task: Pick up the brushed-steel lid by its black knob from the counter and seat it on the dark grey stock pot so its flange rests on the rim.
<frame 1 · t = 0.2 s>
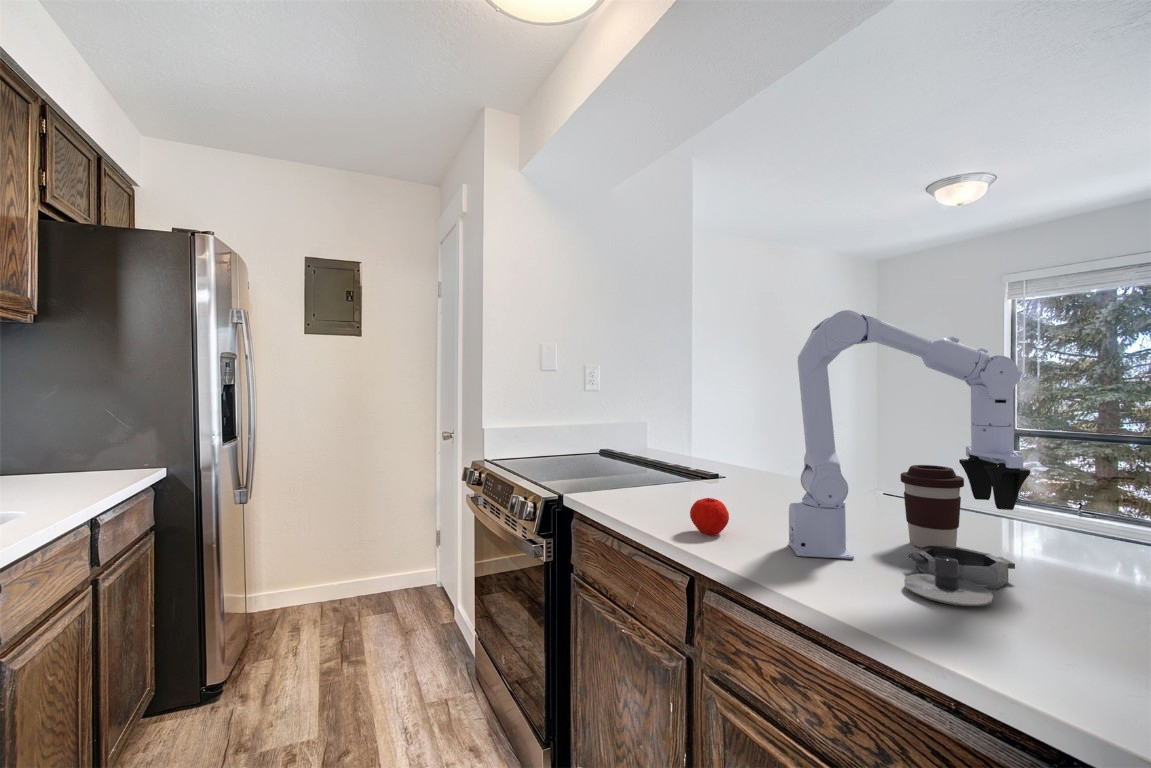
hand: (992, 504, 88), 10 cm above the worktop, fingers open, 7 cm apart
pot: (960, 575, 82), on the worktop
lid: (946, 596, 75), on the worktop
apple: (709, 534, 107), on the worktop
coffee cup: (932, 547, 97), on the worktop
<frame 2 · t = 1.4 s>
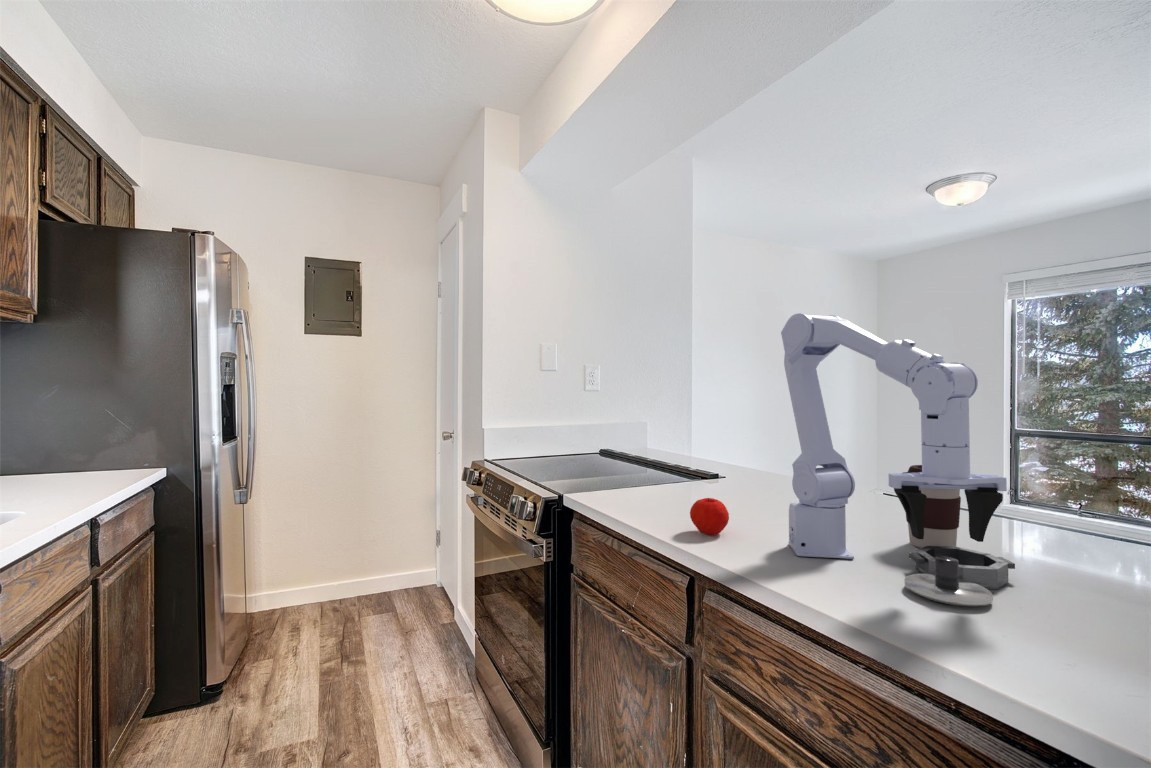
hand: (946, 538, 75), 8 cm above the worktop, fingers open, 7 cm apart
nothing on the worktop moved.
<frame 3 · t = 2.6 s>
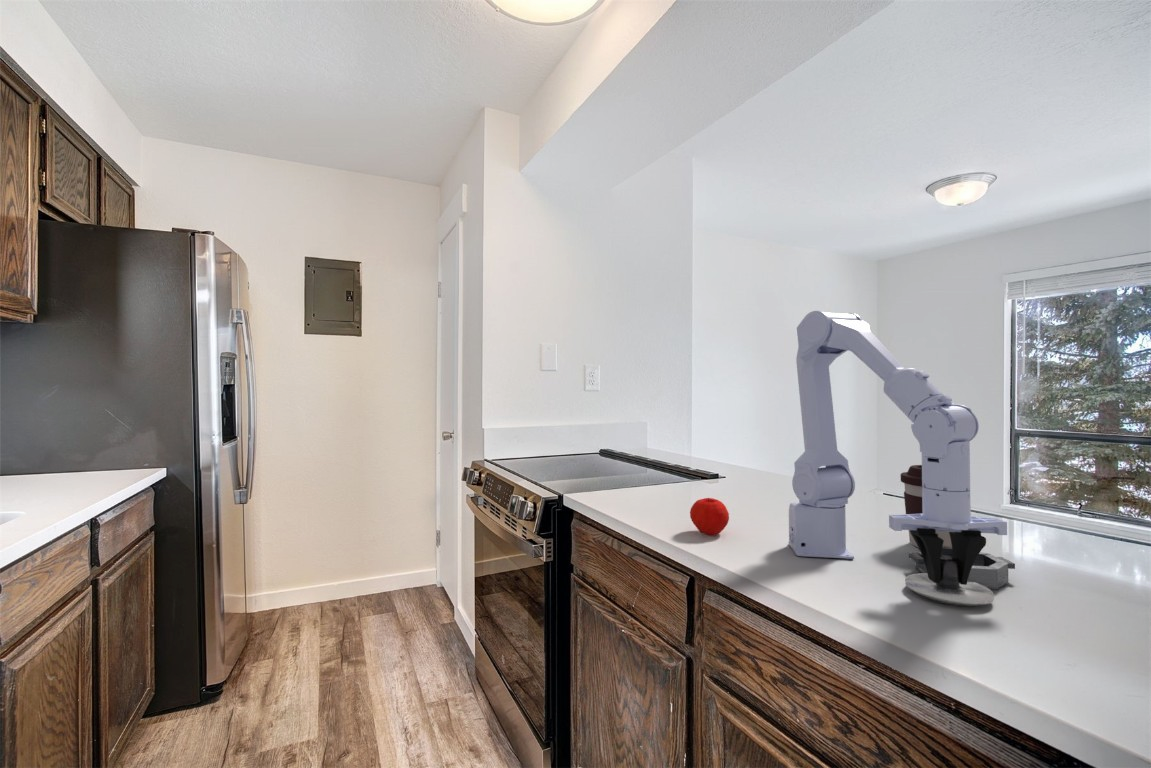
hand: (947, 581, 75), 2 cm above the worktop, fingers closed on lid, 3 cm apart
lid: (947, 595, 74), on the worktop, touching gripper, pot
everything else where it was.
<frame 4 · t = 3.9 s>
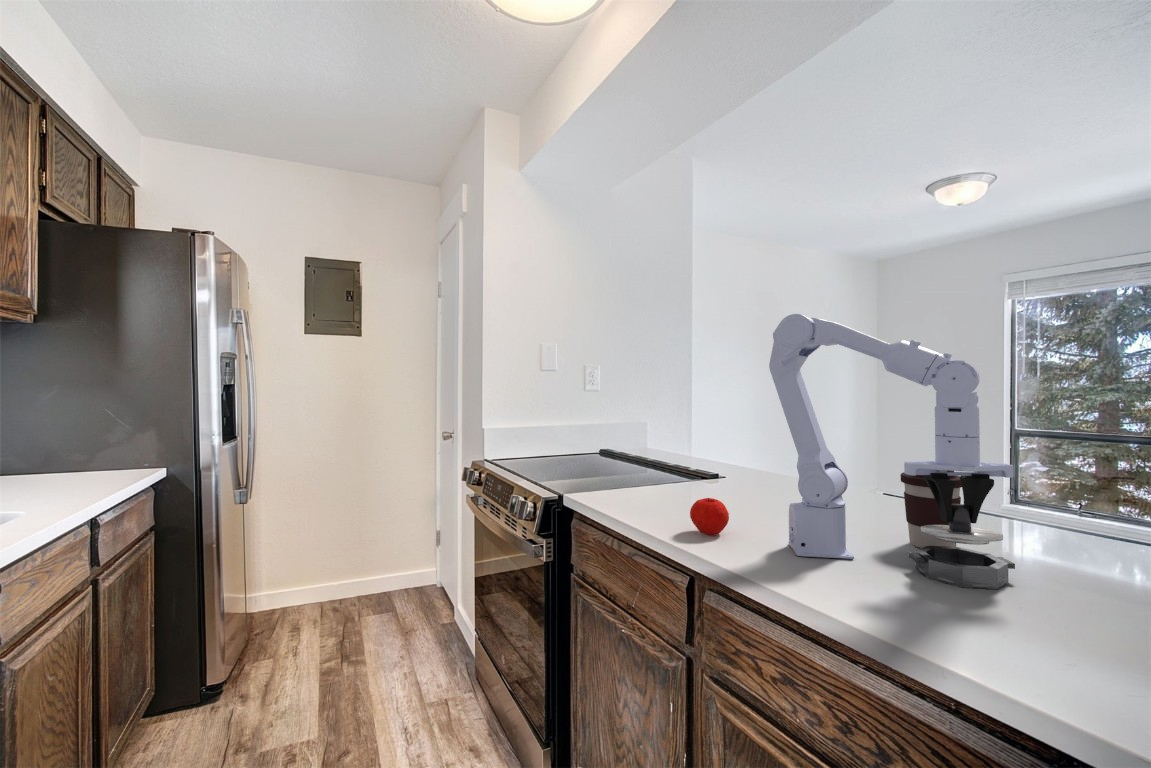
hand: (958, 521, 82), 9 cm above the worktop, fingers closed on lid, 3 cm apart
lid: (960, 539, 81), point 6 cm above the worktop, tilted 5°, touching gripper
everything else where it was.
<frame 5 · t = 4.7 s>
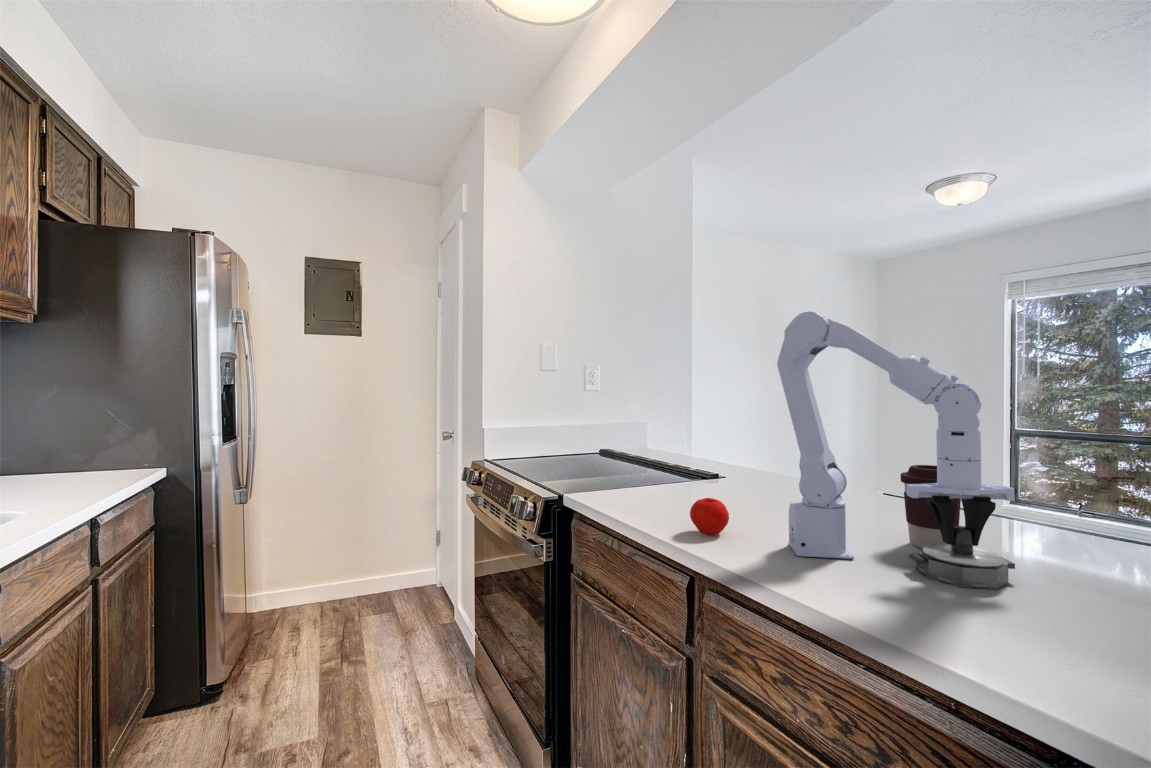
hand: (959, 543, 82), 5 cm above the worktop, fingers closed on lid, 3 cm apart
lid: (962, 561, 82), point 2 cm above the worktop, touching gripper
everything else where it was.
when the fingers open (5 cm above the worktop, at t = 5.1 s): lid stays where it is, resting on pot.
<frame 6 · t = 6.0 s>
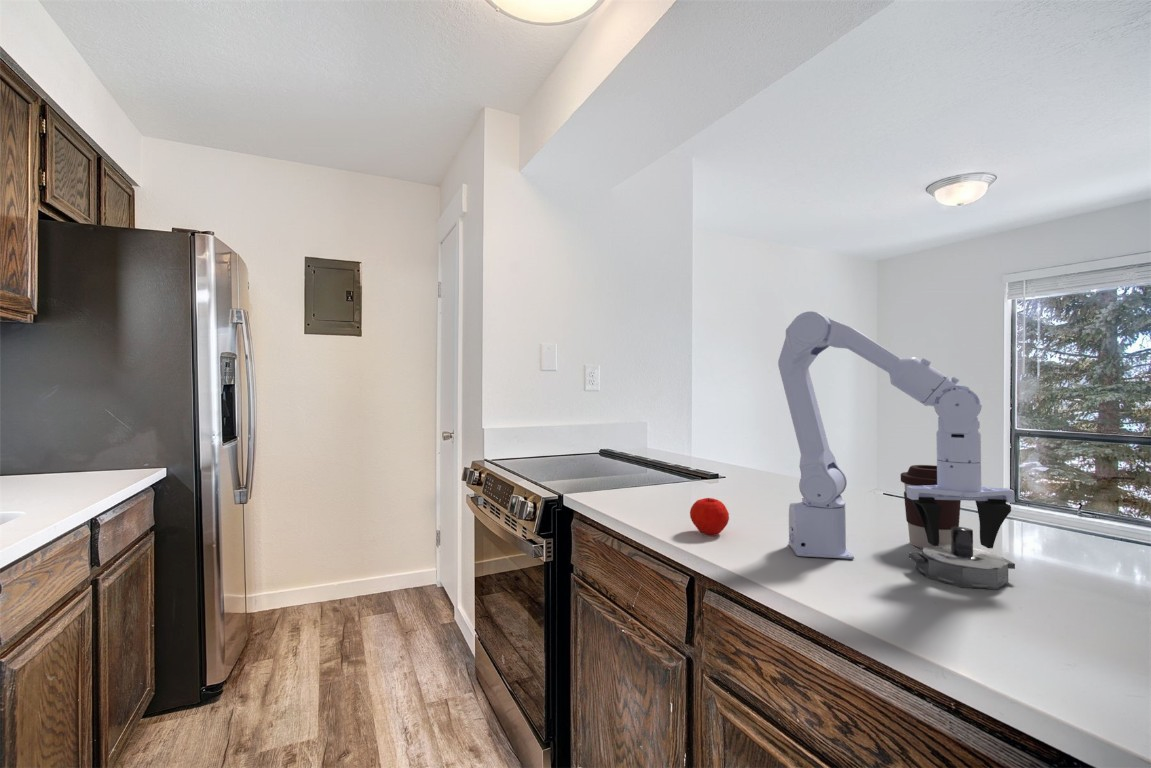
hand: (959, 545, 82), 5 cm above the worktop, fingers open, 7 cm apart
lid: (962, 562, 82), point 2 cm above the worktop, touching pot
everything else where it was.
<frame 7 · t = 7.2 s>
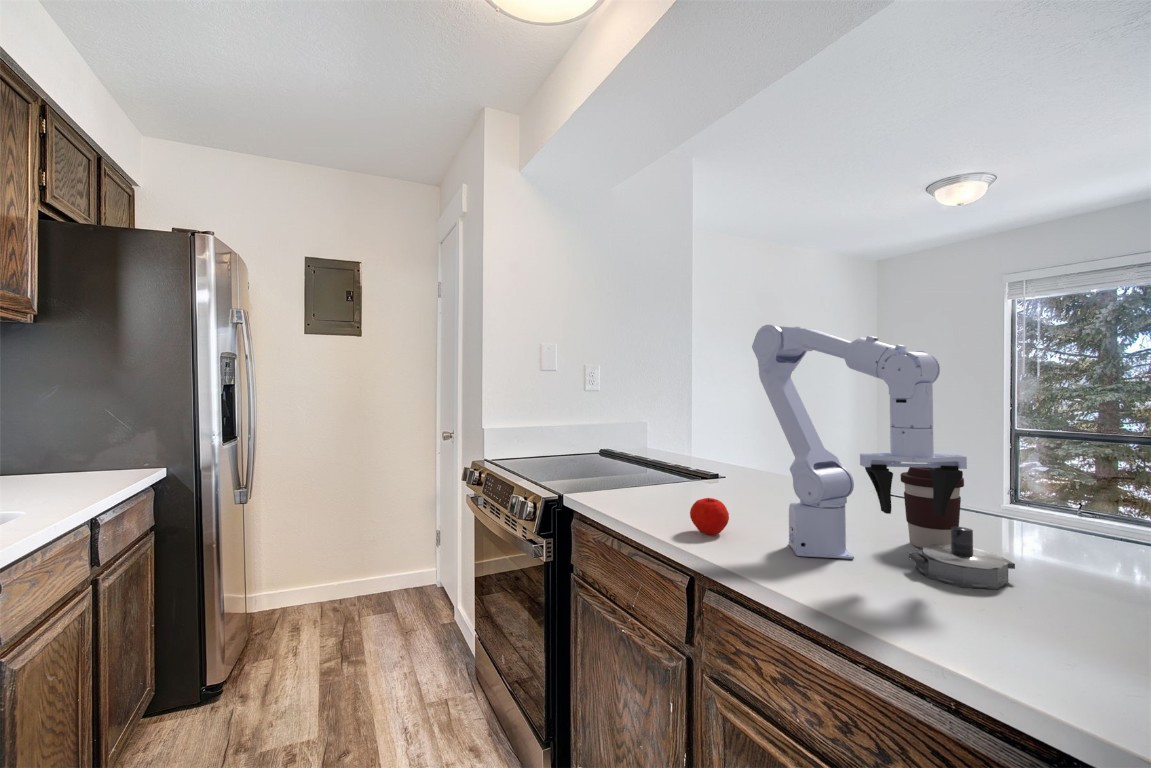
hand: (912, 513, 81), 10 cm above the worktop, fingers open, 7 cm apart
nothing on the worktop moved.
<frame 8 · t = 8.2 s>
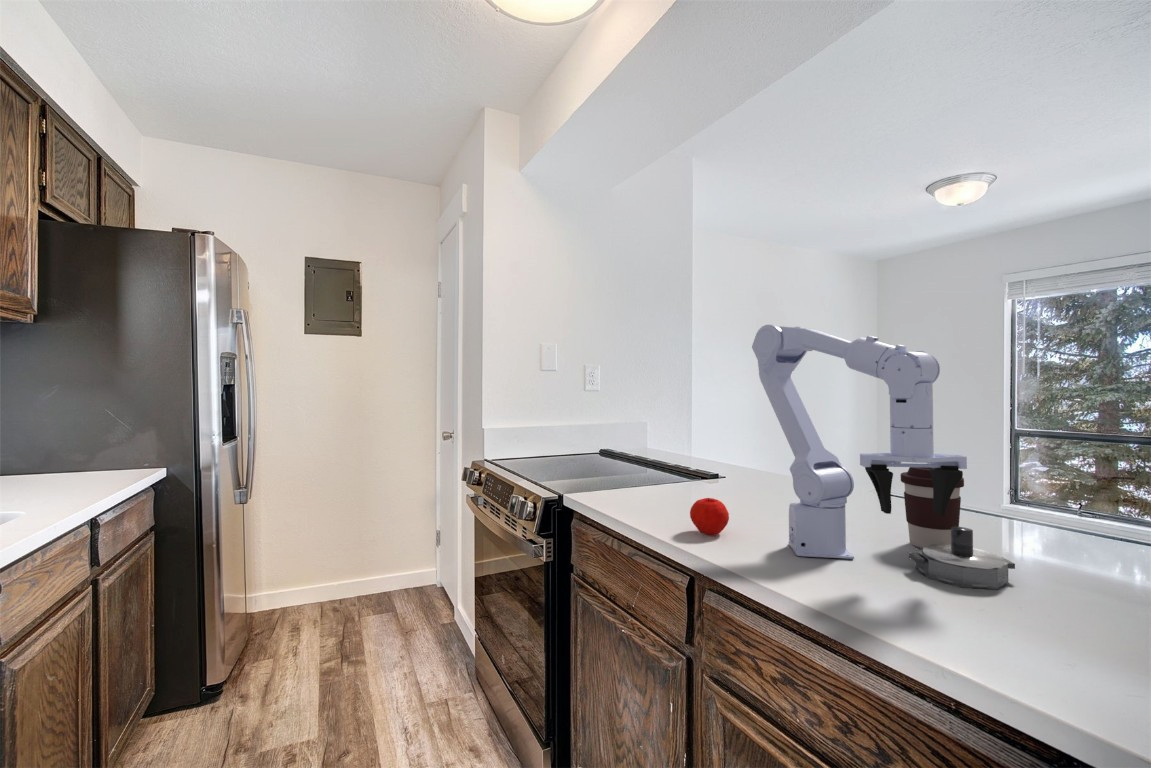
hand: (912, 513, 81), 10 cm above the worktop, fingers open, 7 cm apart
nothing on the worktop moved.
at the end: lid 0.6 cm off-centre on the pot, point 2.2 cm above the pot's base; lid tilted 0°; the gripper is holding nothing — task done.
